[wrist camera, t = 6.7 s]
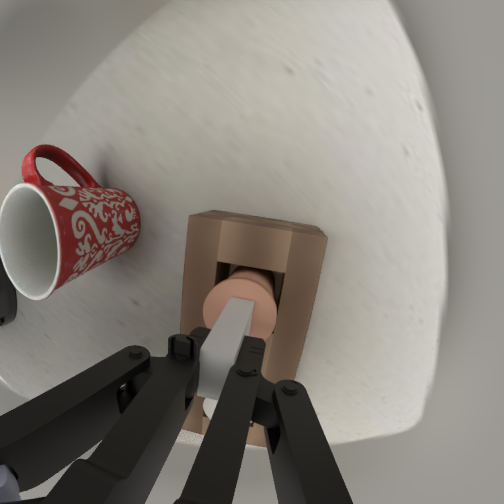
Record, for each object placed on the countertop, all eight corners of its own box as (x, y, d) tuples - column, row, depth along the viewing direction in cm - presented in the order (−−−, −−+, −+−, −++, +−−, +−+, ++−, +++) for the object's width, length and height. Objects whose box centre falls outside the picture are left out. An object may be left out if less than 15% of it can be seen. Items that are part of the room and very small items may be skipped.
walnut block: (197, 391, 32) (179, 428, 25) (213, 210, 27) (189, 215, 20) (276, 407, 31) (272, 448, 24) (317, 226, 26) (327, 237, 19)
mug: (157, 254, 29) (73, 296, 16) (95, 267, 30) (12, 304, 17) (134, 140, 27) (44, 116, 14) (75, 166, 28) (-12, 163, 15)
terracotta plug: (221, 305, 25) (200, 340, 19) (228, 253, 24) (206, 274, 18) (274, 315, 25) (269, 353, 18) (284, 262, 24) (282, 287, 17)
